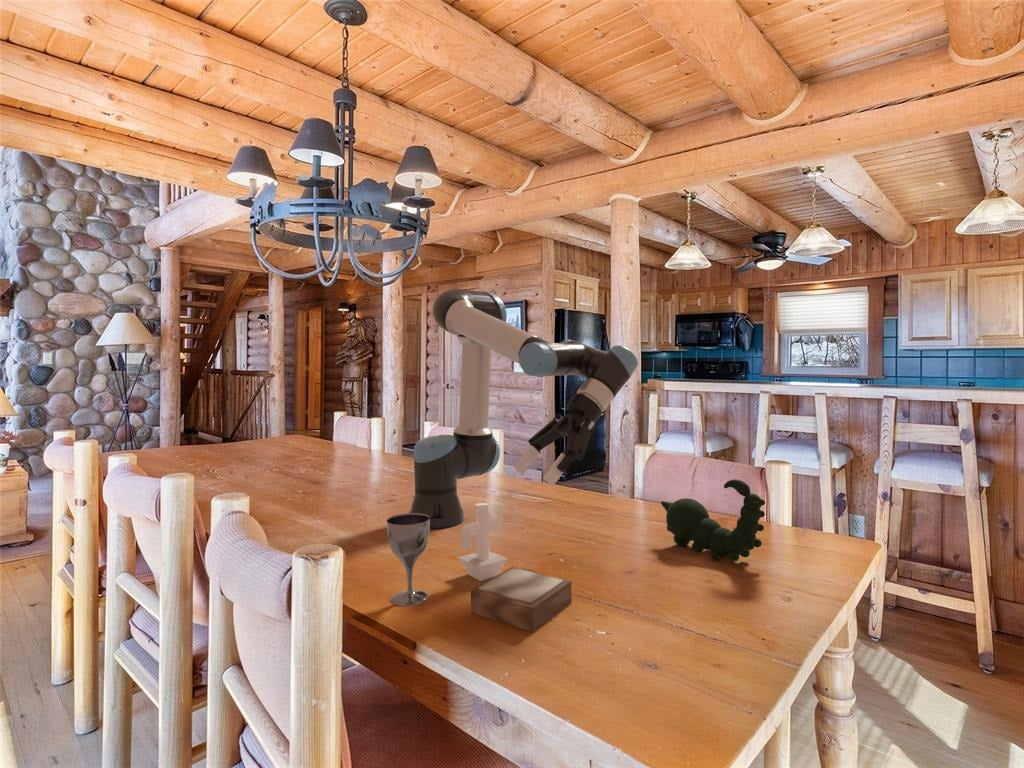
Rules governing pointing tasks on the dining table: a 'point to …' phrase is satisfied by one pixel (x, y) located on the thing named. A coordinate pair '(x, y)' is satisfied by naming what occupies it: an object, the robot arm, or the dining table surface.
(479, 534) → the figurine
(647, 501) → the dining table surface
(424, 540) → the wine glass
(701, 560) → the dining table surface
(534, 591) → the walnut pedestal
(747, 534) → the toy figurine
